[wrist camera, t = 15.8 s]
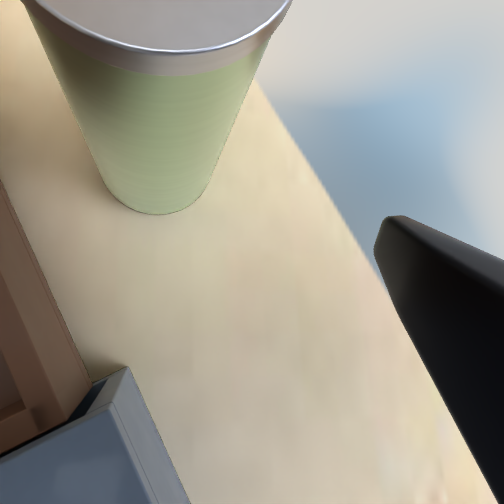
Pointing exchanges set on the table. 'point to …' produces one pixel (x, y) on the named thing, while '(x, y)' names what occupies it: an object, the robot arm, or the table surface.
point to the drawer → (32, 344)
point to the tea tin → (155, 85)
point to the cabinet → (95, 455)
